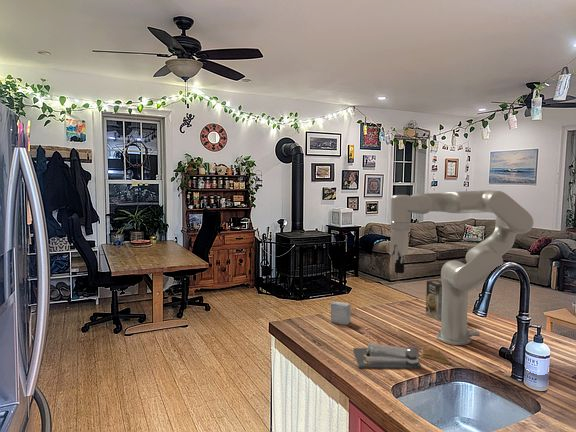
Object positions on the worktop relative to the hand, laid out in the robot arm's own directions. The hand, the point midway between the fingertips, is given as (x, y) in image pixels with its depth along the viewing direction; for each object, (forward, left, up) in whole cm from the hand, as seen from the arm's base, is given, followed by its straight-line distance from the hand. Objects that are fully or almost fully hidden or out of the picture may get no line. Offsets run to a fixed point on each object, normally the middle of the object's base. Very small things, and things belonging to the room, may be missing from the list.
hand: (399, 272), depth 160 cm
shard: (-10, +16, -28) cm, 34 cm away
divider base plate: (+9, +18, -27) cm, 34 cm away
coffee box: (-25, -28, -27) cm, 46 cm away
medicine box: (+21, -19, -27) cm, 39 cm away
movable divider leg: (+7, +21, -26) cm, 34 cm away
